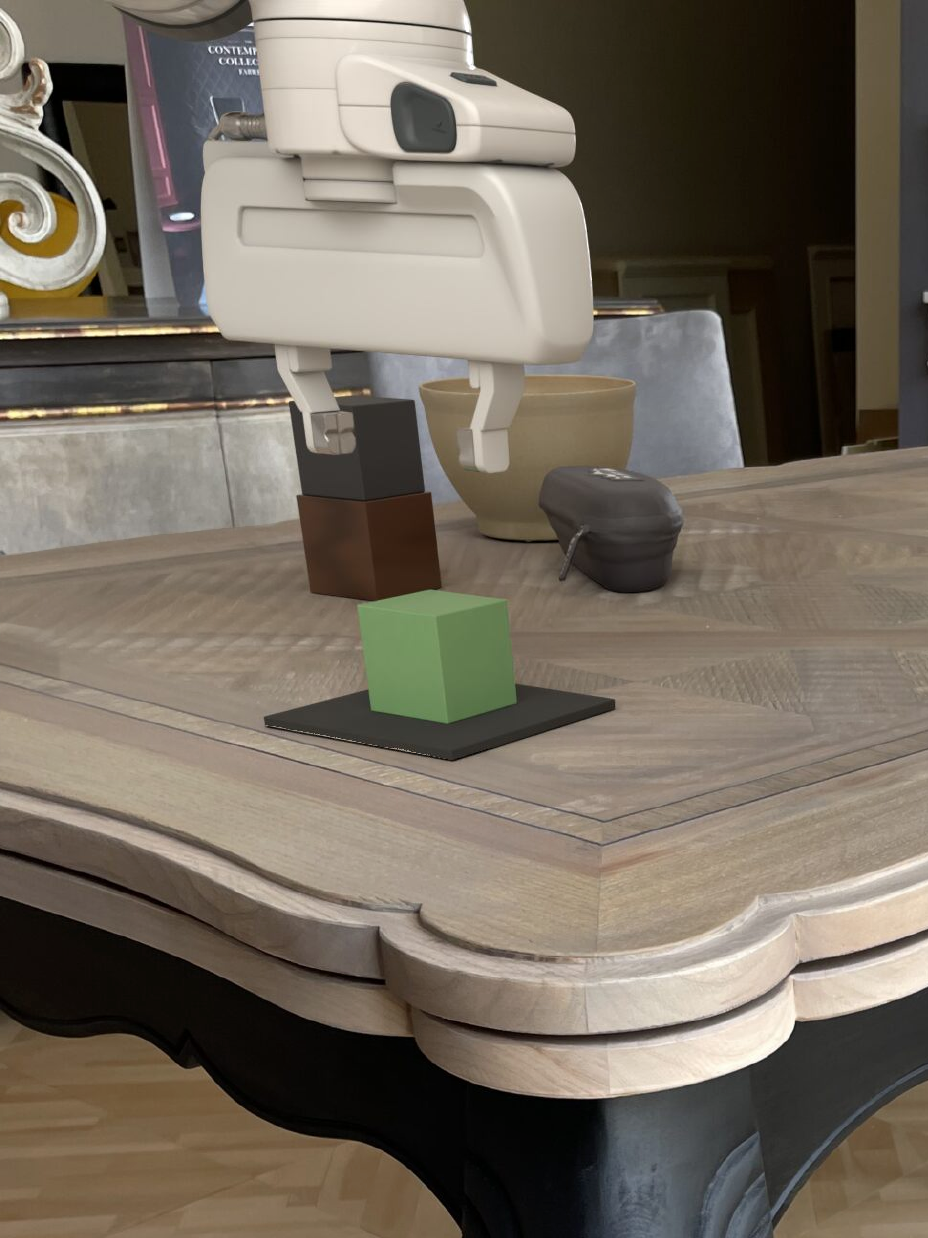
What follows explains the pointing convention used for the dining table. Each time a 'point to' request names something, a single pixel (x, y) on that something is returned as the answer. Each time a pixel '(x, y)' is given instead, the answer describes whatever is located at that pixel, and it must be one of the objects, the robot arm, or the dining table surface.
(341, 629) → the dining table surface
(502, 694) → the green block
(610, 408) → the planter bowl
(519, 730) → the coaster
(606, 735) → the dining table surface
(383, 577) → the walnut block
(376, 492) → the charcoal block
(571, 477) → the glasses case
